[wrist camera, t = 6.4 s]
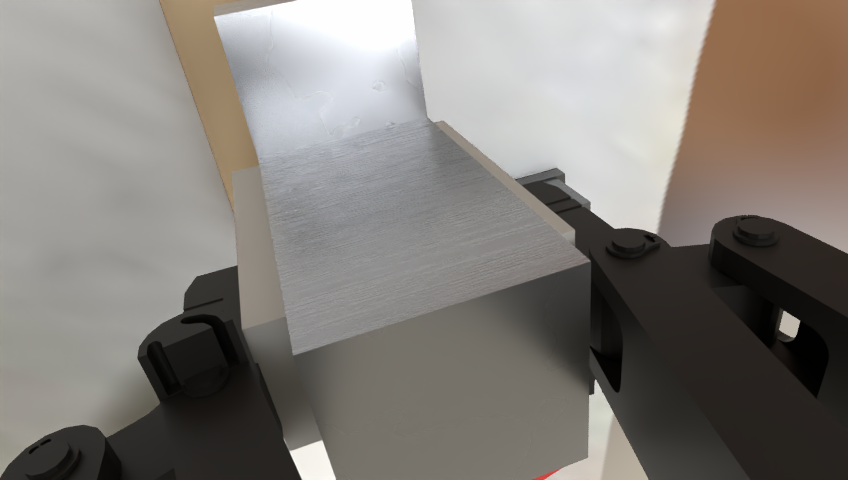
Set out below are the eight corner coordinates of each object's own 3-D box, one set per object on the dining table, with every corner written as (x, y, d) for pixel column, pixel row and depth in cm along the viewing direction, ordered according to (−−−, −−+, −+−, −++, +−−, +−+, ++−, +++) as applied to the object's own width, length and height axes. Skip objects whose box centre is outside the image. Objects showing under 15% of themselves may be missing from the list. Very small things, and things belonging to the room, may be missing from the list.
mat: (250, 254, 27) (250, 260, 27) (133, -78, 20) (131, -78, 19) (407, 211, 29) (411, 216, 28) (353, -111, 21) (356, -112, 21)
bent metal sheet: (318, 341, 18) (391, 641, 10) (214, 5, 13) (208, 111, 5) (437, 304, 19) (586, 557, 11) (384, -27, 13) (594, 25, 6)
